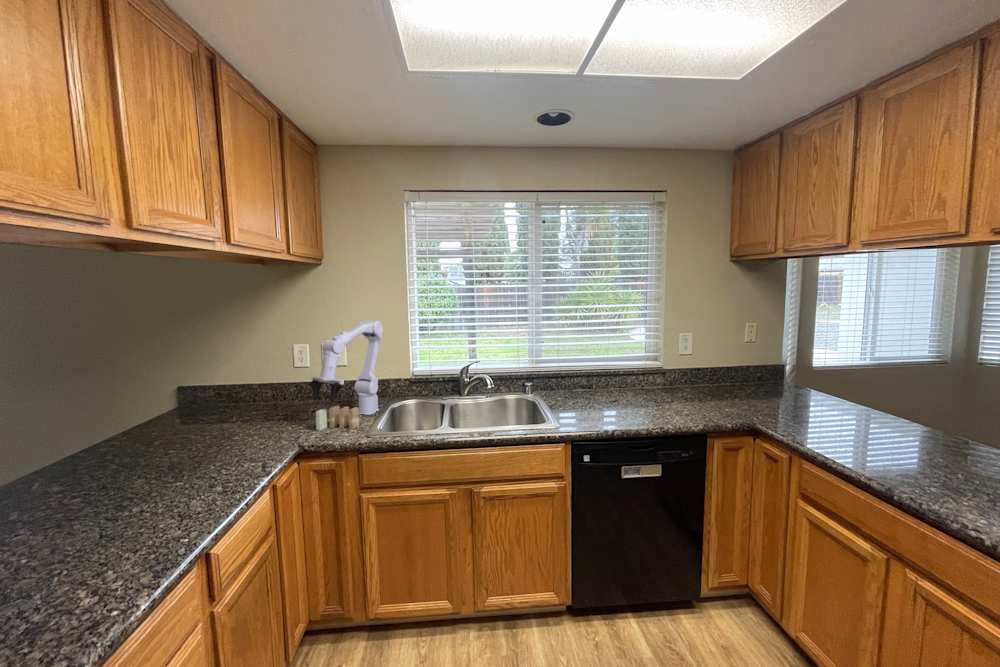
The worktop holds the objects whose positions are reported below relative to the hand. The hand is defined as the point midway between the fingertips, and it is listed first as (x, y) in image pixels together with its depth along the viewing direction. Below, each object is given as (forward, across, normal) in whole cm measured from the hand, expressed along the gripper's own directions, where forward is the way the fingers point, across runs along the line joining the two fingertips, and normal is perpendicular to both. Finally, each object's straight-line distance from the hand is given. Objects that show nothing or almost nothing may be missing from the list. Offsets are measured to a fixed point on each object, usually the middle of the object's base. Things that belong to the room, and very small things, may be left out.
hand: (323, 400), depth 174 cm
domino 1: (+12, 0, +3) cm, 12 cm away
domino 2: (+11, +2, +8) cm, 13 cm away
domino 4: (+10, +12, +8) cm, 17 cm away
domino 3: (+10, +7, +8) cm, 15 cm away
